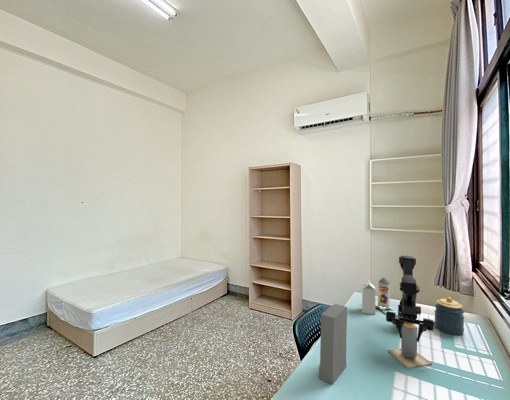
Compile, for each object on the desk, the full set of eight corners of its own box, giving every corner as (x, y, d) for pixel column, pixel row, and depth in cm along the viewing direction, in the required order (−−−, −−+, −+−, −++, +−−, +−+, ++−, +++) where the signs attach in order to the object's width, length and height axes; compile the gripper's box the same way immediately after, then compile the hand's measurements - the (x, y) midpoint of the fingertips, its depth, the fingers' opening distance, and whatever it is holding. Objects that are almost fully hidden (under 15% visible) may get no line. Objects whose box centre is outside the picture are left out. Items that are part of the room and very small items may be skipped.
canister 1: (404, 348, 121) (405, 320, 120) (419, 354, 116) (419, 325, 116) (398, 352, 117) (399, 323, 117) (413, 359, 112) (413, 329, 112)
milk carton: (374, 310, 166) (374, 280, 166) (375, 314, 159) (375, 283, 159) (361, 308, 168) (362, 278, 168) (362, 312, 162) (363, 282, 161)
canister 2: (468, 338, 134) (469, 303, 134) (438, 333, 138) (439, 299, 138) (458, 326, 146) (458, 294, 146) (430, 322, 150) (431, 291, 150)
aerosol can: (377, 308, 168) (377, 277, 168) (378, 305, 174) (378, 274, 174) (389, 311, 165) (389, 279, 164) (389, 307, 171) (390, 276, 170)
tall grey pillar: (332, 361, 113) (333, 303, 113) (346, 367, 109) (347, 306, 109) (317, 377, 102) (318, 313, 102) (332, 385, 99) (334, 318, 98)
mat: (409, 348, 123) (410, 347, 123) (431, 364, 112) (432, 363, 112) (387, 351, 121) (387, 350, 121) (407, 367, 109) (407, 366, 109)
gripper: (386, 294, 124) (385, 327, 114) (434, 302, 115) (437, 339, 106) (386, 304, 131) (385, 337, 121) (431, 313, 122) (434, 348, 113)
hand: (409, 340), depth 115 cm, fingers open, 6 cm apart
